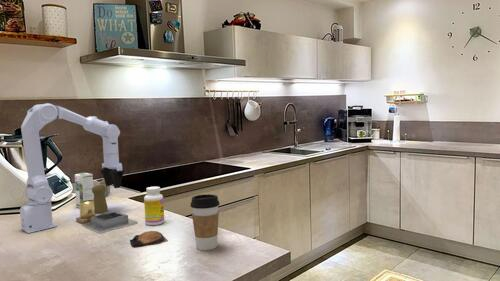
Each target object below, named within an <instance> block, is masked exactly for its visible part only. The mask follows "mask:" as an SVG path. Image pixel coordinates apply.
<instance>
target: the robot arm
mask: <svg viewBox="0 0 500 281" xmlns="http://www.w3.org/2000/svg"><path fill="white" fill-rule="evenodd" d="M61 119H63V120H65V121H68V122H70V123H73V124H74V123H75V124H78V125H81V126H82V128H83V129H84V130H85V131H88V132H90V133H92V134H95V135H98V136H100V137H101V138H102V149H103V151H102V152H103V162H102V163H101V169H100V170H99V171H100V173H101V175H102V177H103V179H104V180H105V184H106V186H110V187H111V186H113V188H114V189H120V188H121V184H122V179H123V177H124V174H125V172H126V171H125V170H124V169H123V164H122V162H120V157H119V139H118V138H119V136H120V134H121V130H120V129H119V127H118V126H117V125H116V124H114V123H112V124H111V123H109V121H107V120H105V121H104V120H102V119H99V118H98V116H95V115H93V116H91V115H89V116H87V117H86V116H83V115H81V114H78V113H76V112H74V111H71V110H69V109H67V108H66V107H62V106H60V105H54V104H52V103H47V102H46V103H42V104H39V103H38V104H35V105H33V106H32V107H31V108H29V109H28V110H27V112H26V115H25V118H24V119H23V122H22V124H21V126H20V131H21V136H22V137H21V138H22V144H23V153H24V157H25V165H26V171H27V179H26V188H25V189H24V195H25V197H26V198H27V199H28V201H27V204H26V205H23V206H20V209H19V215H20V230H22V231H23V232H25V233H27V234H29V233H35V232H39V231H43V230H48V229H52V228H56V227H58V225H57V224H56V223H54V221H53V210H52V198H53V195H54V194H53V189H52V188H51V187H50V185H49V181H48V179H47V176H46V174H45V167H44V160H43V153H42V152H43V151H42V144H41V140H40V133H39V132H40V131H41V130H42V129H43V128H44V127H45V126H46V125H47V124H50V123H51V122H53V121H55V120H61ZM112 184H113V185H112Z"/></svg>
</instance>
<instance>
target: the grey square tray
mask: <svg viewBox="0 0 500 281" xmlns="http://www.w3.org/2000/svg"><path fill="white" fill-rule="evenodd" d="M95 215H96V216H92V217H90V218H91V222H88V223H84V224H81V226H82V227H84V228H86V229H88V230H91V231H93V232H95V233H97V234H102V233H106V232H110V231H114V230H117V229H121V228H122V229H123V228H124V227H125V228H126V227H128V226H132V225H137V224H138V223H139V222H138V221H137V220H134V219H130V218H129V214H126V213H123V212H119V211H116V210H115V211H111V212H110V211H108V212H106V213H103V214H95Z"/></svg>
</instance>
